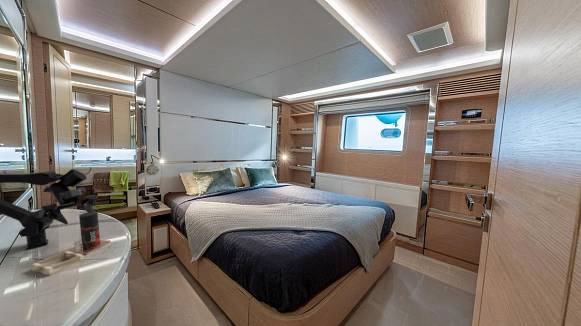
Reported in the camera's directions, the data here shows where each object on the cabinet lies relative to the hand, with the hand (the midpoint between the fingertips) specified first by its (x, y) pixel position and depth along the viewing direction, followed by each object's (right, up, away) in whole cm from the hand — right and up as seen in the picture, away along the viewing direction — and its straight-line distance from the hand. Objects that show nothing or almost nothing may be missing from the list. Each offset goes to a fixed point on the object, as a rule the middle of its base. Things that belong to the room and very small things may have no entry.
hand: (80, 219), depth 95 cm
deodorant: (+5, -12, 0) cm, 13 cm away
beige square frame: (+5, -14, -13) cm, 20 cm away
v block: (+4, -13, 0) cm, 13 cm away
